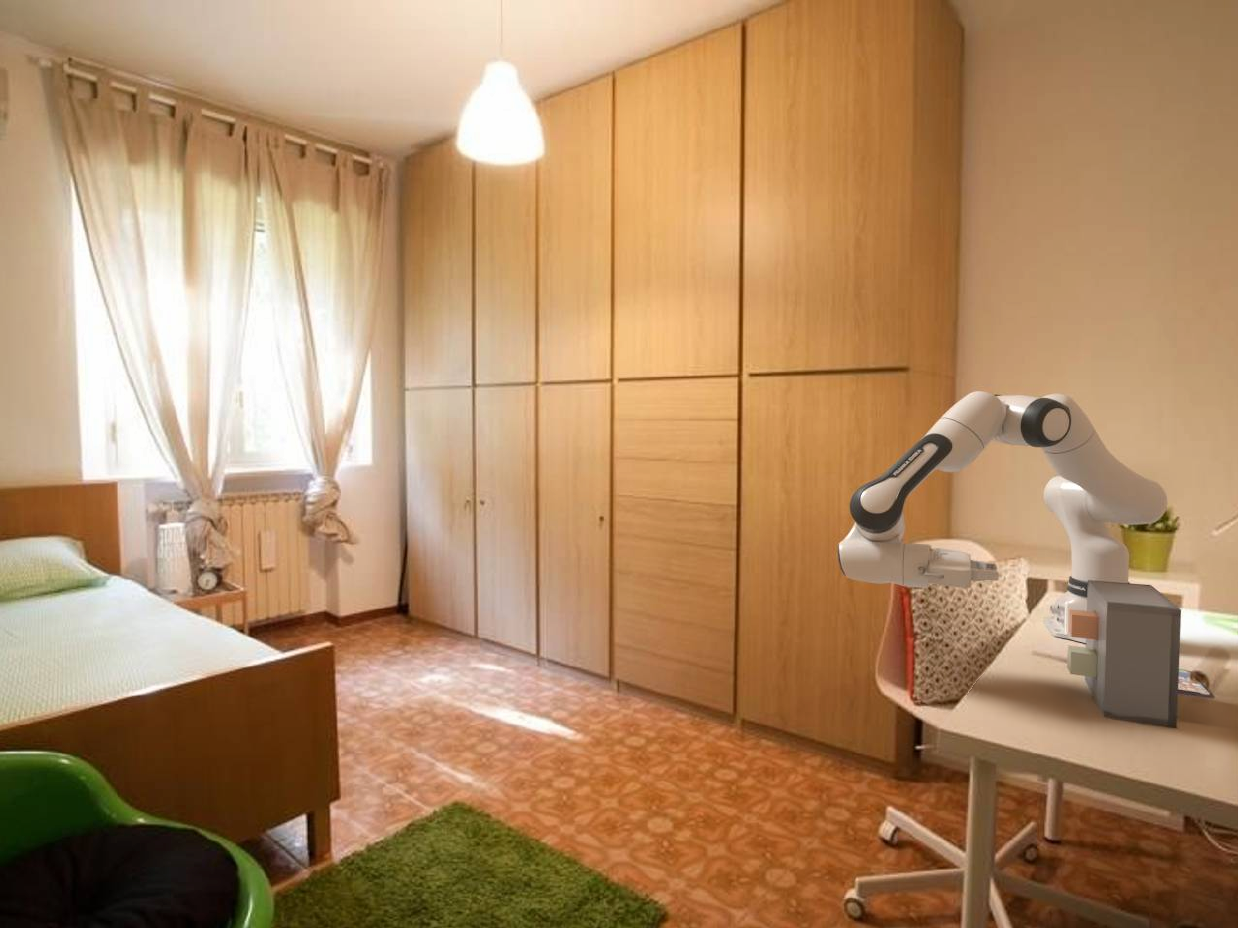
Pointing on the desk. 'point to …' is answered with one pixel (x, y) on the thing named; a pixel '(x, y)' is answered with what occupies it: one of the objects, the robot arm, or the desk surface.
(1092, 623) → the key upper
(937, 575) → the robot arm
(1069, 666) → the key lower
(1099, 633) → the box
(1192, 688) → the smartphone
